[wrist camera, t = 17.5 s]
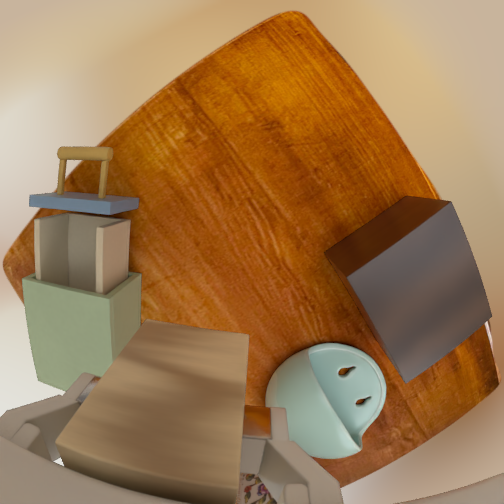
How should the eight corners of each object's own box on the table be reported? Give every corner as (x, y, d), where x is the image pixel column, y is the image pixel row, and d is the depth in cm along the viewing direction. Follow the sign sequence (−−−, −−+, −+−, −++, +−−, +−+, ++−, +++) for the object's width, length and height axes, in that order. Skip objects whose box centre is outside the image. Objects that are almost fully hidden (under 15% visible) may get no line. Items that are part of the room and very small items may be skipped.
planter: (235, 411, 32) (372, 344, 30) (239, 376, 39) (354, 317, 37) (307, 489, 35) (415, 440, 33) (303, 455, 42) (399, 409, 40)
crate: (323, 252, 35) (345, 277, 26) (406, 195, 34) (451, 201, 24) (377, 341, 38) (405, 383, 28) (449, 288, 36) (492, 316, 26)
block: (148, 397, 13) (91, 521, 6) (146, 317, 12) (53, 441, 5) (238, 412, 13) (225, 553, 6) (249, 333, 12) (238, 488, 5)
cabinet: (63, 259, 37) (21, 278, 28) (141, 273, 37) (109, 299, 28) (70, 349, 39) (38, 380, 31) (141, 368, 39) (117, 408, 31)
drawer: (69, 149, 33) (34, 145, 26) (144, 151, 33) (116, 145, 26) (64, 288, 36) (32, 307, 29) (134, 302, 36) (108, 327, 29)
